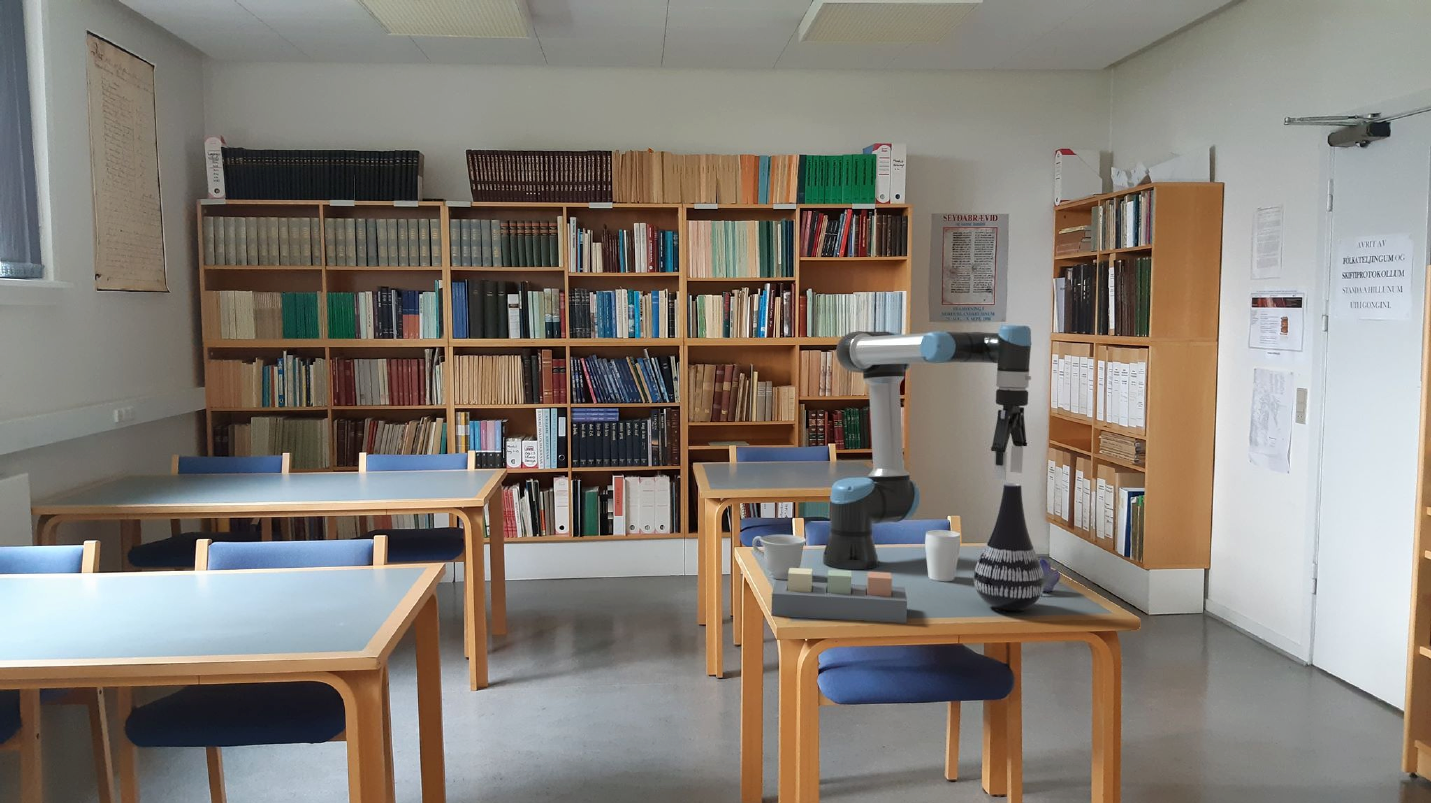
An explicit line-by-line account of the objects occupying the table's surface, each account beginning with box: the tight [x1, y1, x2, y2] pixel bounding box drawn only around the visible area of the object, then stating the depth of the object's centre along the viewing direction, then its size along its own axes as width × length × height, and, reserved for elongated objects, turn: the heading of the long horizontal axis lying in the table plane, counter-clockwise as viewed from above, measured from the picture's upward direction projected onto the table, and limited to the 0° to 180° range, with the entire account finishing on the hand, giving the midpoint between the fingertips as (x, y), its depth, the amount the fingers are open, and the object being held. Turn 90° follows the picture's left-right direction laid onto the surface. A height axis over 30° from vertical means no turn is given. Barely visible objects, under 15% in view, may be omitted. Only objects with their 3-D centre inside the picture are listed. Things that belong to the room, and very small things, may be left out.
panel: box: [770, 579, 908, 624], centre depth 225 cm, size 30×12×5 cm, turn 82°
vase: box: [973, 482, 1044, 614], centre depth 229 cm, size 16×16×30 cm
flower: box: [1038, 557, 1061, 597], centre depth 246 cm, size 9×9×10 cm
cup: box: [924, 529, 961, 582], centre depth 258 cm, size 9×9×12 cm
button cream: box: [787, 567, 813, 592], centre depth 226 cm, size 5×5×6 cm
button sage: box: [827, 569, 852, 594], centre depth 225 cm, size 5×5×6 cm
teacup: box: [752, 534, 807, 581], centre depth 257 cm, size 12×15×10 cm
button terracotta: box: [866, 571, 893, 597], centre depth 224 cm, size 5×5×6 cm
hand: (1008, 475), depth 240 cm, fingers open, 13 cm apart
